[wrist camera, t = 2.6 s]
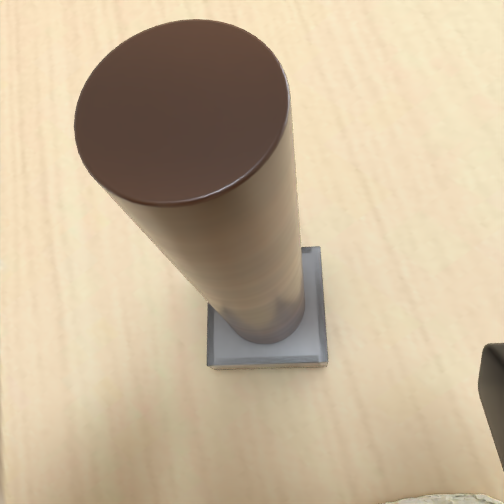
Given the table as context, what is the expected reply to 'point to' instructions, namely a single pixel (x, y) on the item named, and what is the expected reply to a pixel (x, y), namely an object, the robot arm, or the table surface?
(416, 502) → the bread roll
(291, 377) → the table surface
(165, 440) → the table surface
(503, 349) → the robot arm
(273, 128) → the handled stamp
